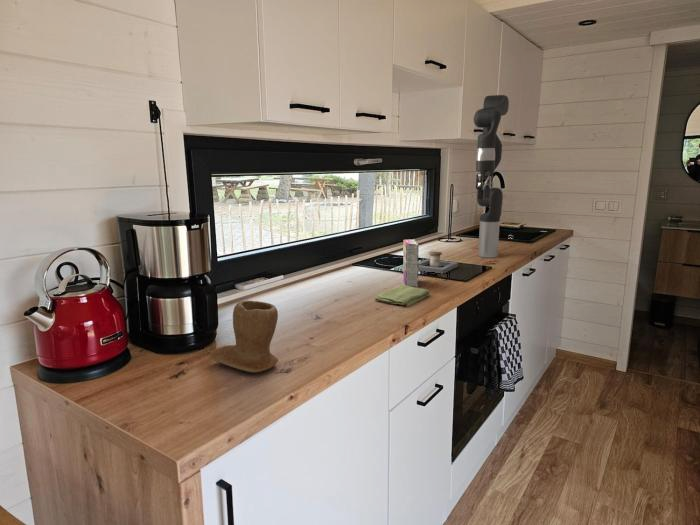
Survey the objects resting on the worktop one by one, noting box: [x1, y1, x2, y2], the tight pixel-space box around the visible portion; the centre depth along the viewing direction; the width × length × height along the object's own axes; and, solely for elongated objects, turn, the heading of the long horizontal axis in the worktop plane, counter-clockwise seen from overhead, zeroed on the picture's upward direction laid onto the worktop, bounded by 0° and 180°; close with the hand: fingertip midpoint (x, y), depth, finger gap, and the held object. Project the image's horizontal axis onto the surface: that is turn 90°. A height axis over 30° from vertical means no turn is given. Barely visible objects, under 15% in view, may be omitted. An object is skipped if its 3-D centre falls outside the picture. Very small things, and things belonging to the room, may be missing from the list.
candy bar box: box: [402, 238, 419, 288], centre depth 183 cm, size 11×5×16 cm, turn 179°
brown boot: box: [208, 300, 279, 373], centre depth 111 cm, size 15×12×15 cm
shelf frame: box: [418, 258, 459, 275], centre depth 209 cm, size 17×15×2 cm
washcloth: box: [374, 283, 431, 307], centre depth 164 cm, size 13×18×3 cm
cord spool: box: [428, 251, 443, 268], centre depth 209 cm, size 6×6×7 cm
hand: (483, 198), depth 203 cm, fingers open, 8 cm apart
